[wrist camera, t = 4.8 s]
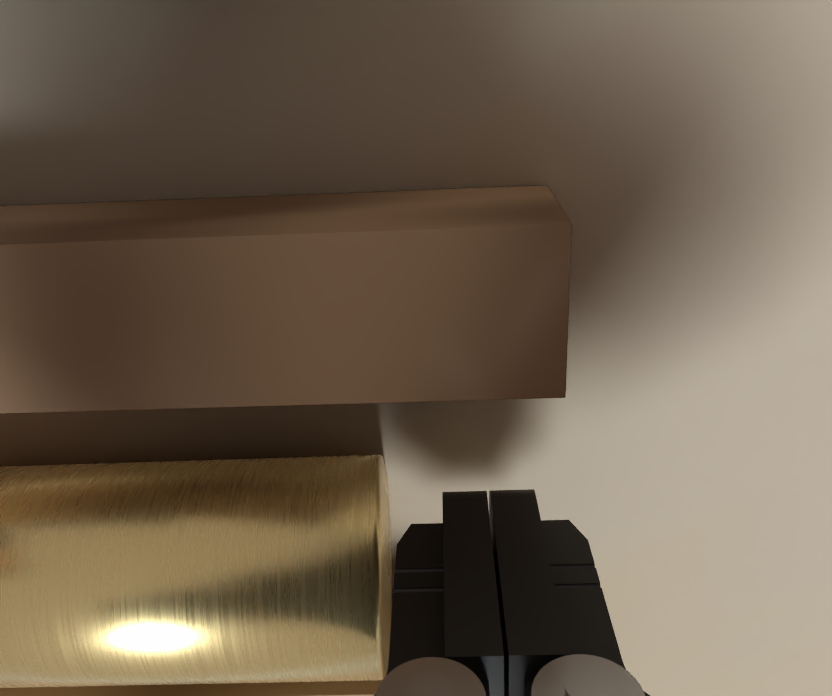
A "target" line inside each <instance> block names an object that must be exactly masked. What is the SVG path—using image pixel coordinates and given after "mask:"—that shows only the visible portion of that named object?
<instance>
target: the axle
mask: <svg viewBox="0 0 832 696" xmlns="http://www.w3.org/2000/svg"><path fill="white" fill-rule="evenodd" d="M391 613H392V555H391V525H390V508H389V495H388V484H387V475H386V469H385V463H384V460H383V457H382V455H360V456H328V457H296V458H264V459H232V460H200V461H168V462H136V463H104V464H72V465H39V466H7V467H0V688H23V687H73V686H122V685H172V684H222V683H272V682H322V681H371V680H383V679H384V678H385V677H386V674H387V669H388V661H389V647H390V633H391Z"/></svg>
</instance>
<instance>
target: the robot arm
mask: <svg viewBox="0 0 832 696" xmlns="http://www.w3.org/2000/svg"><path fill="white" fill-rule="evenodd" d="M374 696H650V695H648V694H647V693H646V692H644V691H643V690H642V688H641V686H640V684H639V683H638V681H637V680H636V679H635V678H634V677H633V676H632V675H631V674H630V673H629V672H628V671H627V670H626V669H625V666H624V664H623V661H622V658H621V655H620V651H619V648H618V644H617V641H616V637H615V634H614V630H613V627H612V623H611V620H610V616H609V613H608V609H607V606H606V602H605V599H604V595H603V592H602V588H600V581H599V578H598V574H597V571H596V568H595V565H594V560H593V557H592V553H591V550H590V546H589V543H588V540H587V539H586V538H585V537H584V535H583V534H582V533H581V532H580V531H579V530H578V529H577V528H576V527H575V526H574V525H573V524H572V523H571V522H570V521H569V520H546V521H541V519H540V514H539V509H538V504H537V500H536V495H535V491H534V490H499V491H490V492H489V510H488V500H487V492H486V491H469V492H443V523H437V524H411V525H410V527H409V528H408V530H407V531H406V532H405V534H404V535H403V537H402V538H401V540H400V541H399V543H398V544H397V550H396V564H395V578H394V593H393V605H392V619H391V633H390V647H389V661H388V669H387V674H386V677H385V678H384V679H383V680H382V682H381V683H380V685H379V687H378V689H377V693H376V694H375V695H374Z"/></svg>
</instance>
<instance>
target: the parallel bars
mask: <svg viewBox="0 0 832 696" xmlns="http://www.w3.org/2000/svg"><path fill="white" fill-rule="evenodd" d="M571 236H572V223H571V222H570V220H569V219H568V217H567V216H566V214H565V213H564V211H563V209H562V208H561V206H560V205H559V203H558V202H557V200H556V199H555V197H554V195H553V194H552V192H551V191H550V189H549V188H548V186H547V185H543V186H517V187H491V188H464V189H438V190H411V191H385V192H359V193H332V194H306V195H279V196H253V197H226V198H200V199H174V200H147V201H121V202H94V203H68V204H42V205H15V206H0V414H1V413H37V412H72V411H108V410H143V409H178V408H214V407H249V406H285V405H320V404H355V403H391V402H426V401H462V400H497V399H533V398H565V395H566V368H567V342H568V315H569V289H570V262H571ZM392 605H393V597H392ZM391 619H392V613H391ZM381 682H382V680H371V681H322V682H272V683H222V684H172V685H122V686H73V687H23V688H0V696H374V695H375V694H376V693H377V689H378V687H379V685H380V683H381Z"/></svg>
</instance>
